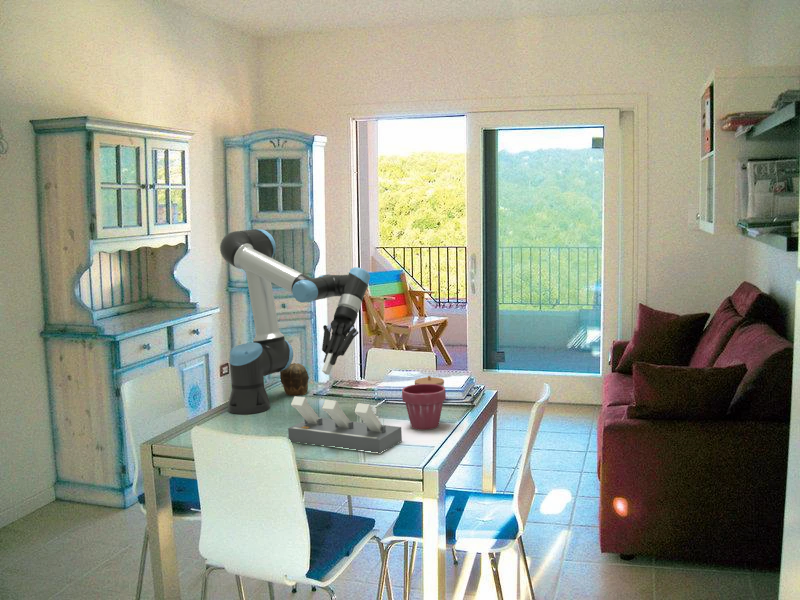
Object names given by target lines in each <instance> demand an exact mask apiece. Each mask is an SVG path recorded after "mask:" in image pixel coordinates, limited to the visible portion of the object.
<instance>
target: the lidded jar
mask: <svg viewBox="0 0 800 600" xmlns="http://www.w3.org/2000/svg"><path fill="white" fill-rule="evenodd" d="M416 384H437V385H441V386H443V387H445V385H444V384H445V380H444V379H443V378H441V377H433V376H431V375H428V376H427V377H426V376H425V377H419V378H418V379H415V380H414V385H416Z"/></svg>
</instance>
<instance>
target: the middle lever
mask: <svg viewBox="0 0 800 600" xmlns="http://www.w3.org/2000/svg"><path fill="white" fill-rule="evenodd" d="M321 409H322V410H323V411H324V412H326V413H327V414H328V415H329V417H330V419H333V420H334V422H335V423H336V424H337V426H339V427H349V422H350V421H351V420H350V418H349V417H348V416H347V415H346V414H345V411H343V410H342V408H341V407H340V403H339V402H338V401H337V400H333V399H331V400H330V399H325V400H324V402H323V404H322V407H321Z"/></svg>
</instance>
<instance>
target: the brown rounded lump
mask: <svg viewBox="0 0 800 600" xmlns="http://www.w3.org/2000/svg"><path fill="white" fill-rule="evenodd" d="M279 378H280V383H281V384H282V386H283V391H284V393H285V395H287V396H291V397H294V396H297V397H300V396H304V395H306V394H307V393H308V389H309V378H310V377H309V373H308V370H307V369H306V367H305V366H304V365H303V364H301V363H295V362H292V363H291V364H290V365H289V367H288V368H286V369H284V370H282V371H281V372H279Z"/></svg>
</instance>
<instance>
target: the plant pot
mask: <svg viewBox="0 0 800 600" xmlns="http://www.w3.org/2000/svg"><path fill="white" fill-rule="evenodd" d="M401 397H402V402H403V403H404V404H405V408H406V411H407V415H408V418H409V421H410V425H411V426H410V427H411V428H412V429H414V430H418V429H419V430H420V431H423V430H425V431H428V430H433V429H437V428H438V427H439V426H440V421H441V414H442V410H443V406H444V405H443V403H444V401H446V398H447V397H446V388H445V386H444V387H443V386H441V385H437V384H416V385H415V384H411V385H407V386H405V387H403V388H402V389H401Z"/></svg>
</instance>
